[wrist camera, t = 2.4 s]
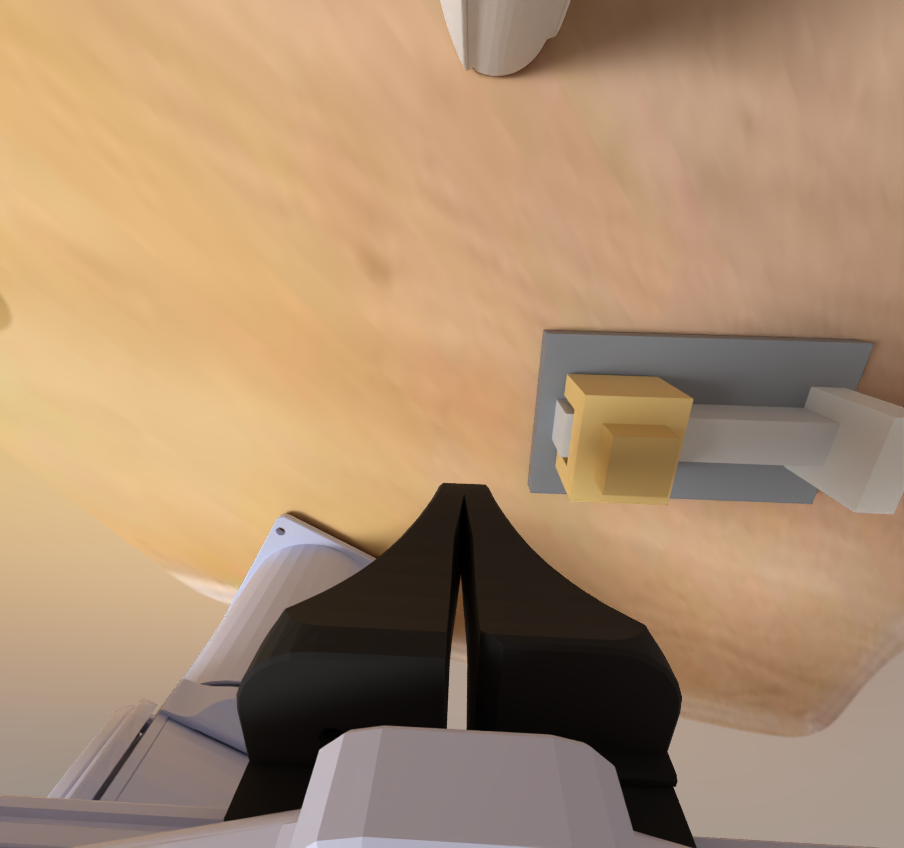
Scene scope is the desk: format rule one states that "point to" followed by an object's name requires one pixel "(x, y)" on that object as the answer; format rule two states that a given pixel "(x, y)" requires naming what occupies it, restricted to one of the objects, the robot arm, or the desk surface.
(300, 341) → the desk surface
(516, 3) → the photo printer
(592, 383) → the slider
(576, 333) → the rail board
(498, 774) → the robot arm
